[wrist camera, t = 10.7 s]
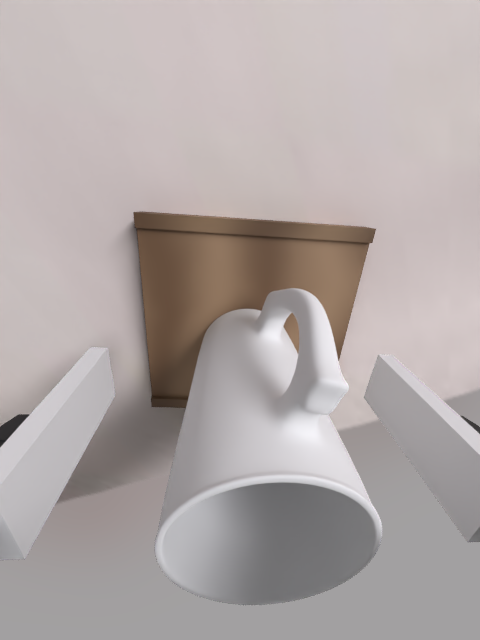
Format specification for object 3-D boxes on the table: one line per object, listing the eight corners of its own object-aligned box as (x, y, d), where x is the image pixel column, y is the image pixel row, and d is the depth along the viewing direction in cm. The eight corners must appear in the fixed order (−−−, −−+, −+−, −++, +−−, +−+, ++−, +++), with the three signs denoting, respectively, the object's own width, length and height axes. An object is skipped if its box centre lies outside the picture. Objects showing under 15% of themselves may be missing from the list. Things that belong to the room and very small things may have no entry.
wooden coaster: (156, 394, 22) (151, 406, 20) (141, 211, 16) (133, 212, 14) (321, 398, 22) (327, 410, 21) (363, 226, 17) (375, 229, 15)
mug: (272, 394, 20) (322, 613, 10) (188, 374, 19) (136, 596, 8) (327, 274, 17) (517, 410, 6) (227, 241, 16) (223, 332, 5)
